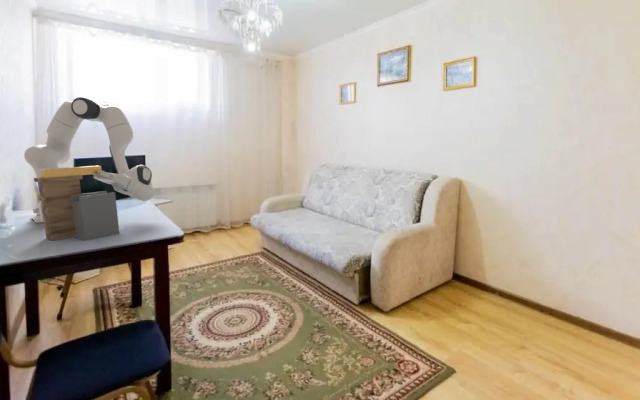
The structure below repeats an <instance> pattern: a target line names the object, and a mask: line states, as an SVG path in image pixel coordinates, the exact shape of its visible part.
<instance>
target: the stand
mask: <svg viewBox="0 0 640 400" xmlns="http://www.w3.org/2000/svg"><path fill="white" fill-rule="evenodd" d="M83 179H84V178H83V175H79V176H67V177H55V178H42V177H40V178H37V177H33V180H34V182H35V183H38V189H39V195H40V198H41V205H42V212H43V219H44V222H43V224H44V232H45V239H46V240H49V241H57V240H62V239H65V238H71V237H76V232H75V224H74V216H73V208H72V200H71V195H77V194H82V188H81V181H80V180H83Z"/></svg>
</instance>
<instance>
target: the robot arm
mask: <svg viewBox="0 0 640 400" xmlns="http://www.w3.org/2000/svg"><path fill="white" fill-rule="evenodd" d="M85 120H86V121H90V122H102V123H103V126H104V128H105V131H106V133H107V135H108V140H109V153H110V157H111V159H112V162H113V166H114V169H115V173H114V172H113V173H112V172H106V171H105V170H102V171H100V172H99V174H91V175H93V179H94V180H97V181H100V182H102V183H105V184H108V185H111V186H112V187H113V190H114V192H115V191H116V192H118V193H120V194H123V195H125V196H126V195H127V196H129V197H131V198H132V199H135V200H138V201H141V202H147V201H150V200H151V199H152V198H153V197H154V196H155V188H154V187H153V185H152V178H153V173H152V170H151V169H150V168H149V167H148V166H147V165H144V164H139V165H136V166H134V167H132V168H130V169H129V166H128V162H127V159H126V155H125V154H126V149H127V148H128V146H129V145H130V144H131V143H132V141H133V139H134V132H133V128H132V126H131V124H130V122H129V120H128V118H127V116H126V115H125V113H124V111H123V110H122V109H121V108H120V107H119V106H117V105H109V104H108V103H107V102H105V101H102V100H99V99H96V98H91V97H86V96H79V97H76V98H74V99H73V100H72V101H71V100H68V101H67V100H66V101H64V102H63V103H62V104H61V105H60V106H59V107H58V109H57V110H56V112H55V113H54V115H53V117H52V119H51V121H50V123H49V125H48V126H47V128H46V133H47V139H46V142H45V144H35V145H31V146H30V147H28V148H26V150H25V151H24V155H23V156H24V159H25V161H26V163H27V164H28V165H30V166H31V168H32V169H33V171H34V174H35V176H36V178H40V177H41V170H40V169H53V168H59V166H61V165H63V164H65V163H67V162H69V160H70V159H71V151H70V148H71V144H72V141H73V139H74V137H75V135H76V134H77V131H78V129H79V128H80V126H81V124H82V122H83V121H85ZM38 198H39V202H38V204H37V205H36V207H35V208H33V209H32V212H33V214H35V215H32V216H31V218H32V219H33V220H34V221H33V220H32V221H33V222H34V223H37V224H39V223H44V219H43V212H42V205H41V198H40V194H39V195H38ZM31 218H30V219H31Z"/></svg>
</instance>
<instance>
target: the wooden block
mask: <svg viewBox="0 0 640 400" xmlns="http://www.w3.org/2000/svg"><path fill="white" fill-rule="evenodd" d="M40 170H41V177H42V178H55V177H67V176H79V175H81V176H87V175H88V176H89V175H92V174H99V172H100V171H103V170H102V165H86V166H85V165H84V166H72V167H71V166H70V167H58V168H53V169H40Z"/></svg>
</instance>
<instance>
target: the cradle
mask: <svg viewBox="0 0 640 400" xmlns="http://www.w3.org/2000/svg"><path fill="white" fill-rule="evenodd" d="M71 200H72V208H73V216H74V224H75V232H76V236H75V238H76V239H80V240H82V241H90V240H95V239H99V238H103V237H108V236H111V235H116V234H117V235H118V234H120V226H119V216H118V208H117V207H118V206H117V198H116V192H115V191H114V192H108V191H107V190H103V191H95V192H87V193H81V194H77V195H71Z"/></svg>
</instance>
